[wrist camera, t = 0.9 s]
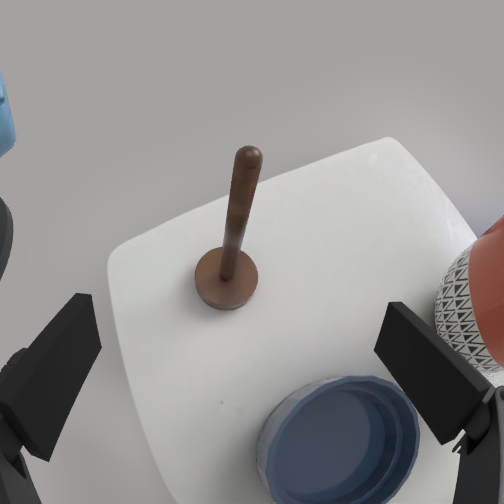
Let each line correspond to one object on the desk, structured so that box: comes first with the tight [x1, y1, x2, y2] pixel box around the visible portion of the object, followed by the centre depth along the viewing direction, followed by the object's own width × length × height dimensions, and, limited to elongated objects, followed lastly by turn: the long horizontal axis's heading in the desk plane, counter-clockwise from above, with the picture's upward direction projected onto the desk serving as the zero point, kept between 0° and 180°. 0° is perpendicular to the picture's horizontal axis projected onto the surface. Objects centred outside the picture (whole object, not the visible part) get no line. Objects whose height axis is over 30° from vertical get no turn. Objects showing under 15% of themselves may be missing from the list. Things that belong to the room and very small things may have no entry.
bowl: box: [256, 376, 420, 504], centre depth 23 cm, size 17×17×6 cm
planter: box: [435, 215, 504, 373], centre depth 26 cm, size 20×20×21 cm
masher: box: [195, 146, 263, 310], centre depth 24 cm, size 7×7×21 cm
